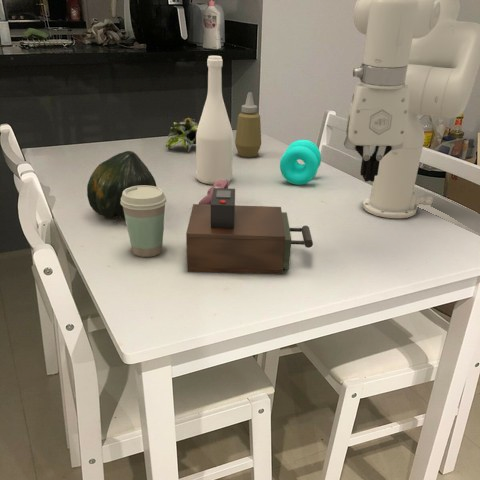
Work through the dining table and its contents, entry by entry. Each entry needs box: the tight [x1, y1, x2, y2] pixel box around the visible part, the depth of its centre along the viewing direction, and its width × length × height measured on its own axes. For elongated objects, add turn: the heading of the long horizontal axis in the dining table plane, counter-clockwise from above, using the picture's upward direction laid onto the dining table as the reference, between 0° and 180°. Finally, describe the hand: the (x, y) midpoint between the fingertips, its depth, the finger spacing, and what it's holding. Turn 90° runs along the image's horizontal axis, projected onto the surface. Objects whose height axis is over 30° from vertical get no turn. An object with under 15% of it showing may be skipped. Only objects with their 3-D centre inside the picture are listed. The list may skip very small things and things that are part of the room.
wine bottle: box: [195, 55, 234, 186], centre depth 135 cm, size 10×10×30 cm
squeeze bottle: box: [234, 91, 262, 158], centre depth 159 cm, size 8×8×18 cm
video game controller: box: [198, 179, 231, 205], centre depth 127 cm, size 10×5×7 cm, turn 168°
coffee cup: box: [120, 185, 168, 258], centre depth 102 cm, size 8×8×12 cm
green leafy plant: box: [165, 117, 199, 154], centre depth 165 cm, size 11×11×12 cm
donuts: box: [279, 139, 322, 186], centre depth 142 cm, size 10×10×10 cm
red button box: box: [211, 187, 236, 228], centre depth 99 cm, size 4×9×5 cm, turn 179°
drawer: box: [282, 211, 314, 269], centre depth 102 cm, size 21×13×6 cm, turn 89°
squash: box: [86, 150, 158, 219], centre depth 118 cm, size 14×15×15 cm
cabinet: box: [185, 203, 285, 275], centre depth 102 cm, size 18×15×8 cm
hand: (368, 178), depth 102 cm, fingers closed
